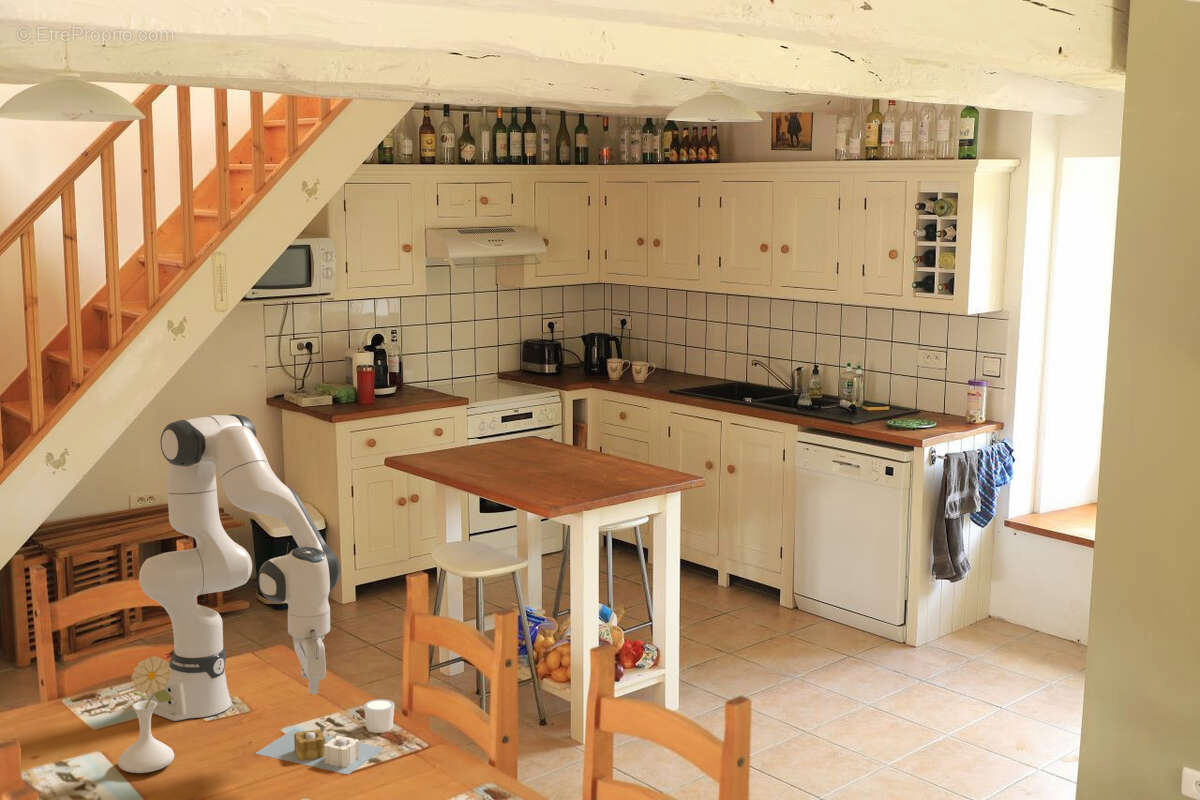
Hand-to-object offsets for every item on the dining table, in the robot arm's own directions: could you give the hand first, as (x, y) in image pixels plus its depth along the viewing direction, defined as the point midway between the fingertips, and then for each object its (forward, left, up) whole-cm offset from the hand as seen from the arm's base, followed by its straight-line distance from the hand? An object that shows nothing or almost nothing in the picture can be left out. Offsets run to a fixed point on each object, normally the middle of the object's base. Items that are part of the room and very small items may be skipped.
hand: (309, 684), depth 258 cm
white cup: (+6, +18, -17) cm, 25 cm away
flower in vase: (-29, -17, -17) cm, 38 cm away
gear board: (+1, +2, -17) cm, 17 cm away
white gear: (+8, 0, -16) cm, 17 cm away
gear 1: (0, 0, -16) cm, 16 cm away
